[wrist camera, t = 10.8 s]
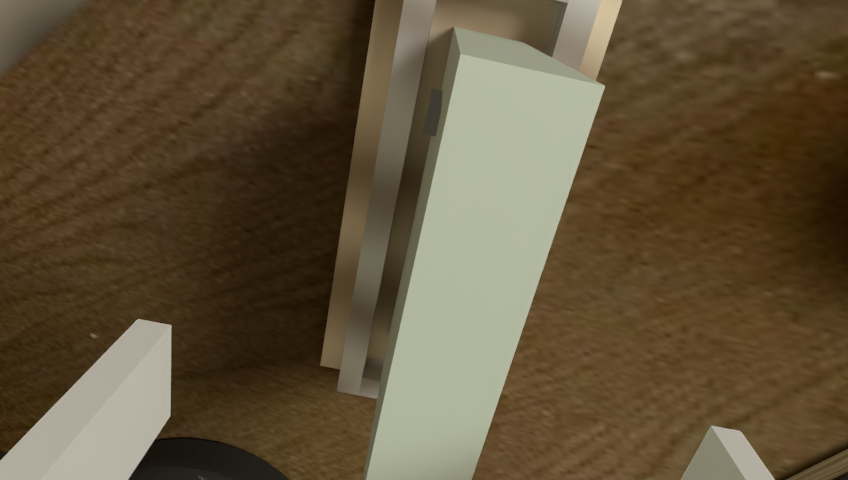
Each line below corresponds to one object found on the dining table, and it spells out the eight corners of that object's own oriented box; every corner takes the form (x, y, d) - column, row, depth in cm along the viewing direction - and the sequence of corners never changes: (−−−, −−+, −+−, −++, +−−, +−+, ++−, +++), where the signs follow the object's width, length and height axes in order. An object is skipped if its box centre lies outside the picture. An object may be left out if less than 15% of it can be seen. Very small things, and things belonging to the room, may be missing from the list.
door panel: (442, 344, 29) (437, 579, 17) (381, 332, 29) (335, 561, 17) (522, 42, 22) (605, 85, 11) (444, 24, 22) (441, 49, 10)
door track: (488, 381, 32) (493, 420, 29) (325, 349, 31) (312, 386, 28) (616, -15, 23) (642, -17, 20) (390, -67, 22) (381, -77, 19)
